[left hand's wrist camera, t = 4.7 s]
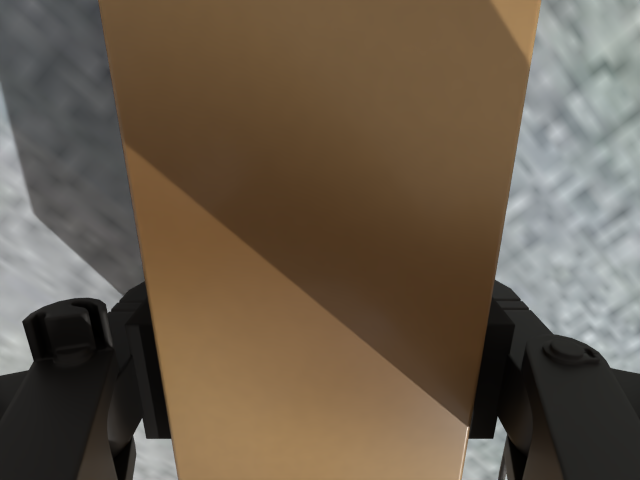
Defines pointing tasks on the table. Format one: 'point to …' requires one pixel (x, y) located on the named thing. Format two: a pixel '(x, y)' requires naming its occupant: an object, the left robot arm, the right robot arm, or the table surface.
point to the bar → (319, 222)
